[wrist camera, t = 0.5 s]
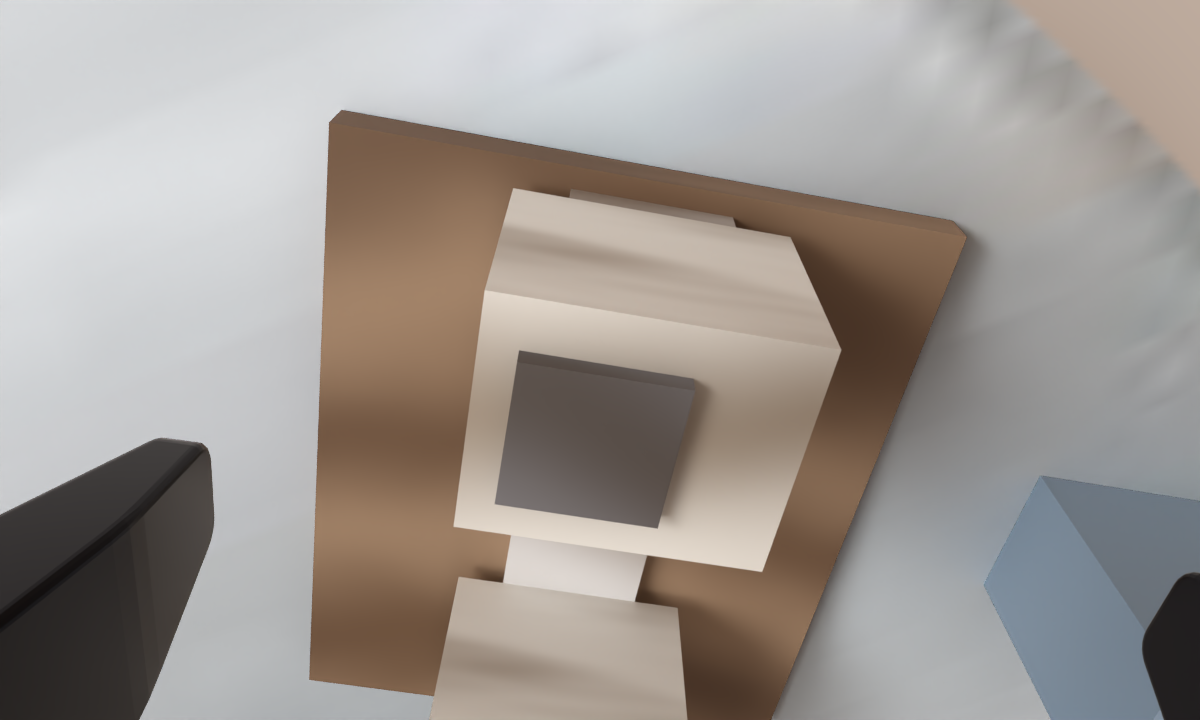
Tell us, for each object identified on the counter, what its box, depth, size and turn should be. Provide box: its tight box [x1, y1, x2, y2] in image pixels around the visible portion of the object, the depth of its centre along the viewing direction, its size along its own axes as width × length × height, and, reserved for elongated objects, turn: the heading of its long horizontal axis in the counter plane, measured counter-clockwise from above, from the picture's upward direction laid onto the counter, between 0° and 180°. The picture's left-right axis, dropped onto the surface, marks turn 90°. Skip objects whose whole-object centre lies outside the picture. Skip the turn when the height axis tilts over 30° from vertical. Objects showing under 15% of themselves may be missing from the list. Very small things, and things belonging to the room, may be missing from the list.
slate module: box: [984, 476, 1200, 720], centre depth 23 cm, size 4×6×7 cm, turn 80°
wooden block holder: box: [309, 110, 967, 720], centre depth 22 cm, size 17×14×7 cm
